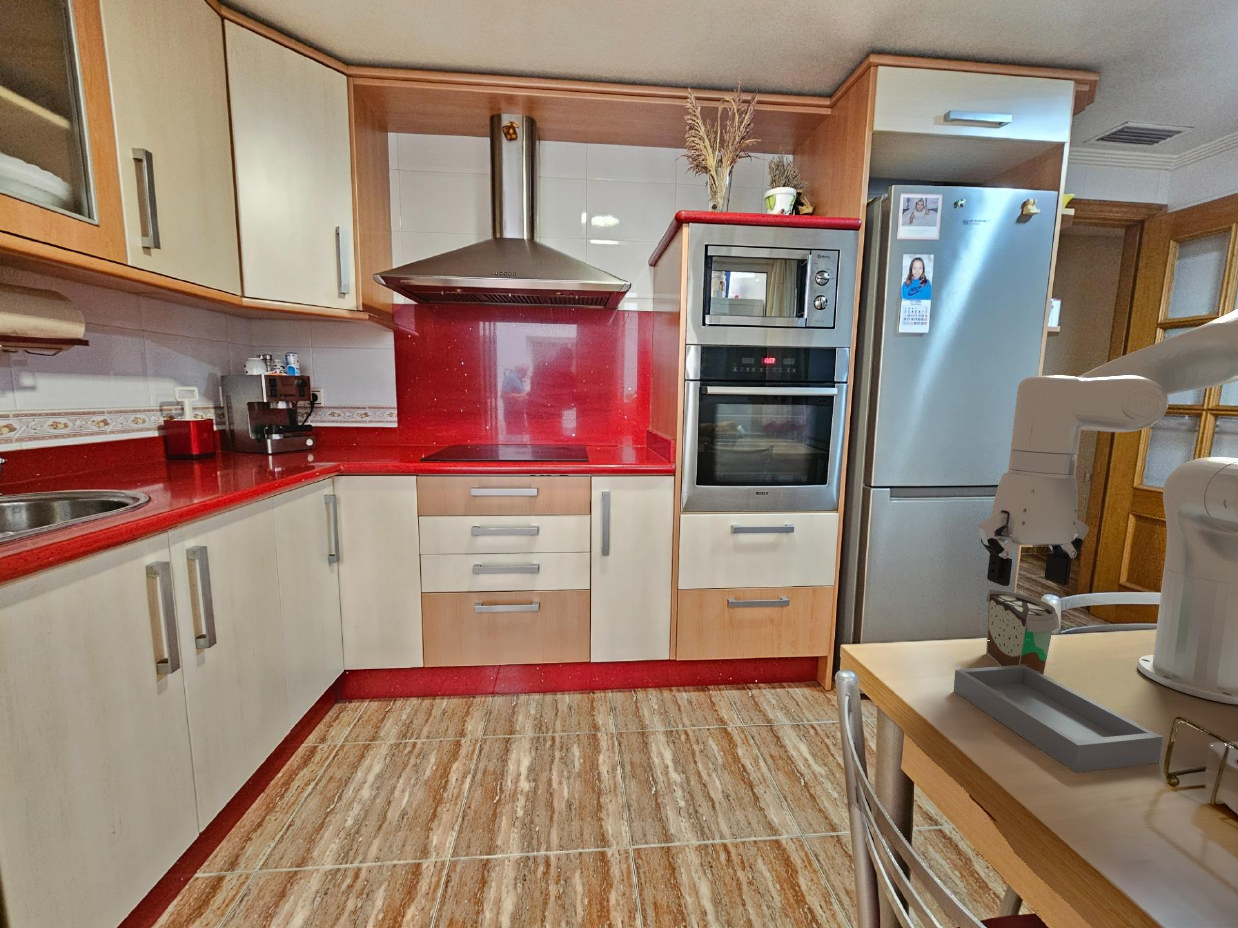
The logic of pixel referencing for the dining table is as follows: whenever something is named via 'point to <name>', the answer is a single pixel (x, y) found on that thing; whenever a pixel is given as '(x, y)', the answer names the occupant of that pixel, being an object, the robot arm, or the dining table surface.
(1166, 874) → the dining table surface
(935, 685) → the dining table surface
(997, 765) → the dining table surface
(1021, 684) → the tray
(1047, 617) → the food container
